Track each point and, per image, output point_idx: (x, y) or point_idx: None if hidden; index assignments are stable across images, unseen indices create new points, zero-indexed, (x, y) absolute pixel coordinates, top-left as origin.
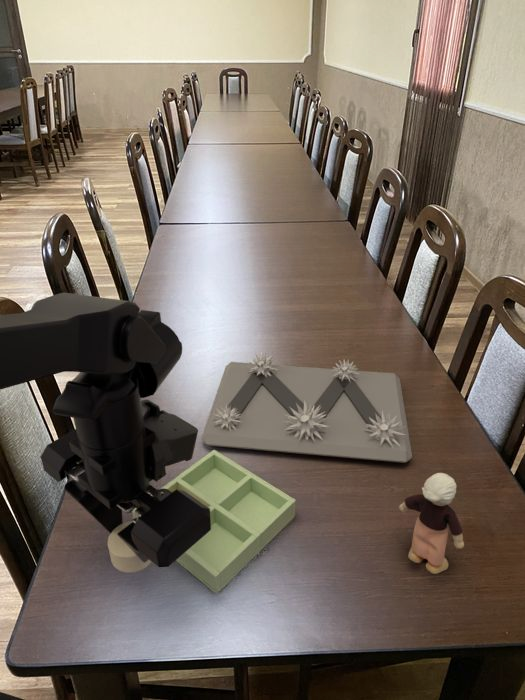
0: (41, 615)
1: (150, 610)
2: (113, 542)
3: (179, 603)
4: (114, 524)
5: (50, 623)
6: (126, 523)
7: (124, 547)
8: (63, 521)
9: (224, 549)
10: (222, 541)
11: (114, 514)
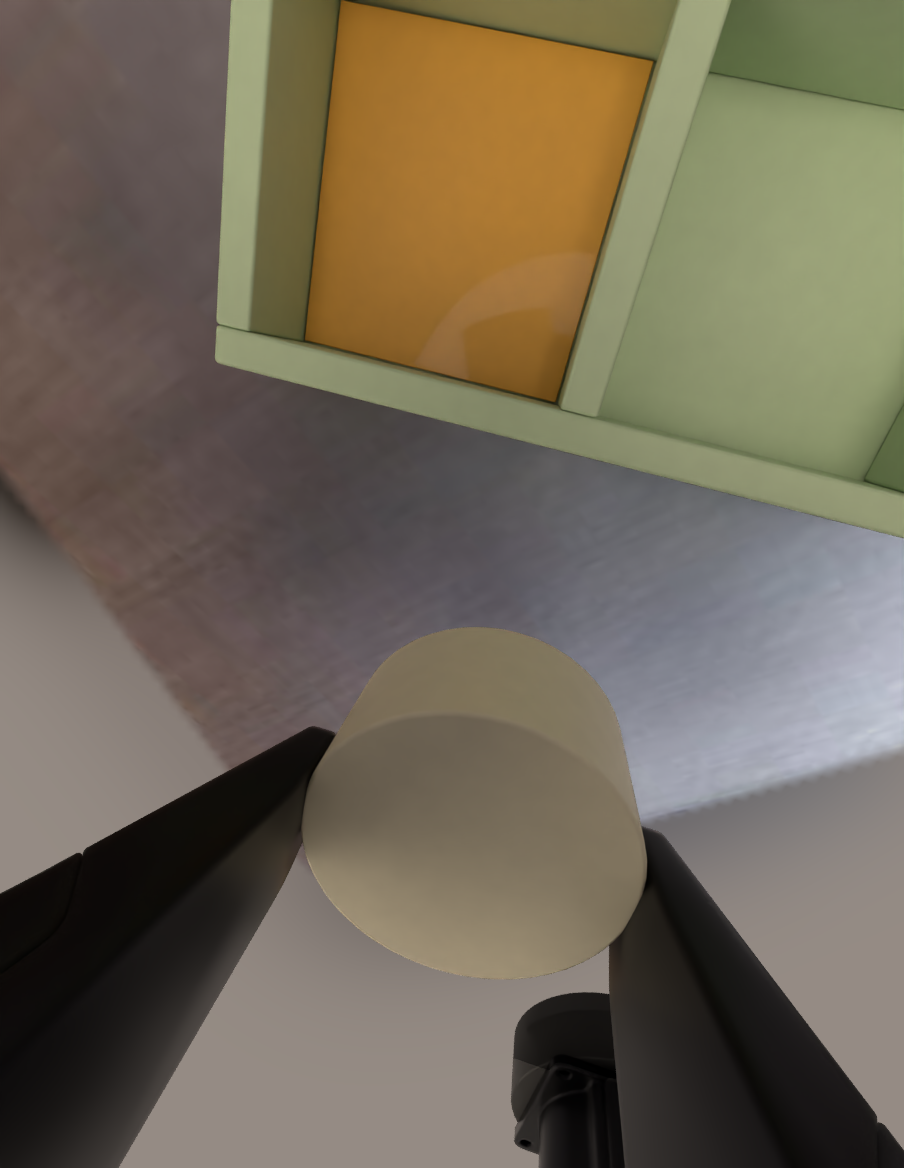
0: None
1: (603, 677)
2: (380, 916)
3: (703, 614)
4: (281, 856)
5: None
6: (340, 768)
7: (475, 930)
8: (34, 492)
9: (837, 256)
10: (802, 203)
11: (219, 919)
